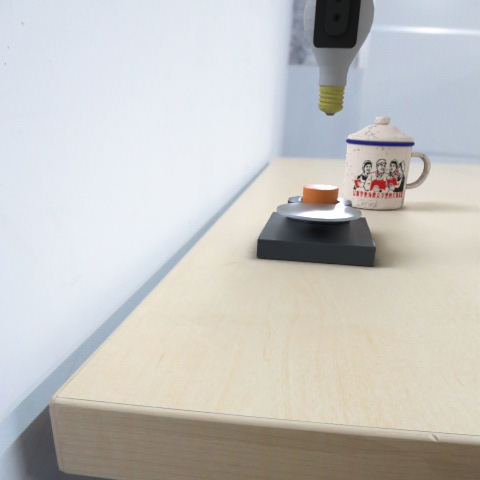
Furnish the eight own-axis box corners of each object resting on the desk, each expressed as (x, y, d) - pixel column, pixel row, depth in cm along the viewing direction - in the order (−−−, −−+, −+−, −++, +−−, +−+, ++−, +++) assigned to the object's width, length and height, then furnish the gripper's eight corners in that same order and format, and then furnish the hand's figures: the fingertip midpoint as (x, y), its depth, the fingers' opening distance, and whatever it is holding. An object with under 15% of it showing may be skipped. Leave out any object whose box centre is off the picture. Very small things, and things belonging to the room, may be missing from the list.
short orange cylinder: (302, 200, 53) (304, 183, 53) (336, 202, 53) (338, 185, 52) (301, 206, 50) (302, 188, 49) (337, 208, 49) (339, 190, 49)
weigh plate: (336, 204, 49) (336, 201, 49) (378, 219, 43) (378, 216, 42) (264, 206, 47) (264, 203, 47) (296, 223, 40) (297, 219, 40)
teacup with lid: (346, 209, 66) (357, 115, 62) (333, 198, 75) (342, 115, 70) (435, 212, 67) (452, 119, 62) (412, 200, 75) (425, 118, 71)
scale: (273, 224, 56) (274, 193, 55) (362, 230, 55) (366, 198, 53) (256, 258, 43) (258, 218, 42) (373, 266, 42) (379, 225, 40)
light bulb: (326, 112, 46) (338, -18, 41) (375, 116, 42) (393, -27, 37) (284, 114, 42) (291, -27, 38) (332, 118, 39) (347, -37, 34)
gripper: (451, -378, 25) (395, 38, 32) (400, -187, 40) (370, 63, 47) (299, -365, 26) (278, 37, 33) (307, -183, 41) (291, 61, 48)
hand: (333, 49), depth 40 cm, fingers closed on light bulb, 5 cm apart
